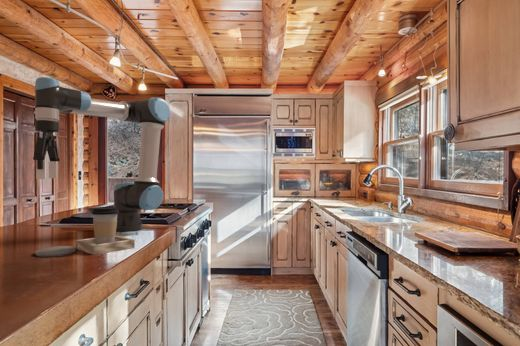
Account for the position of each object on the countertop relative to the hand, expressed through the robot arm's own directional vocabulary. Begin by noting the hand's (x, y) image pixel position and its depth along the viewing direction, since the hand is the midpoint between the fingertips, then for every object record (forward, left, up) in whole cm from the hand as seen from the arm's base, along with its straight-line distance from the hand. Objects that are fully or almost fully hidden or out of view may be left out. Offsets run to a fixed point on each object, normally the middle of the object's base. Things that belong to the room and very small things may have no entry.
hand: (47, 178), depth 127 cm
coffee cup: (-15, +15, -26) cm, 33 cm away
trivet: (0, +10, -26) cm, 27 cm away
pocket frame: (-15, +15, -26) cm, 33 cm away
